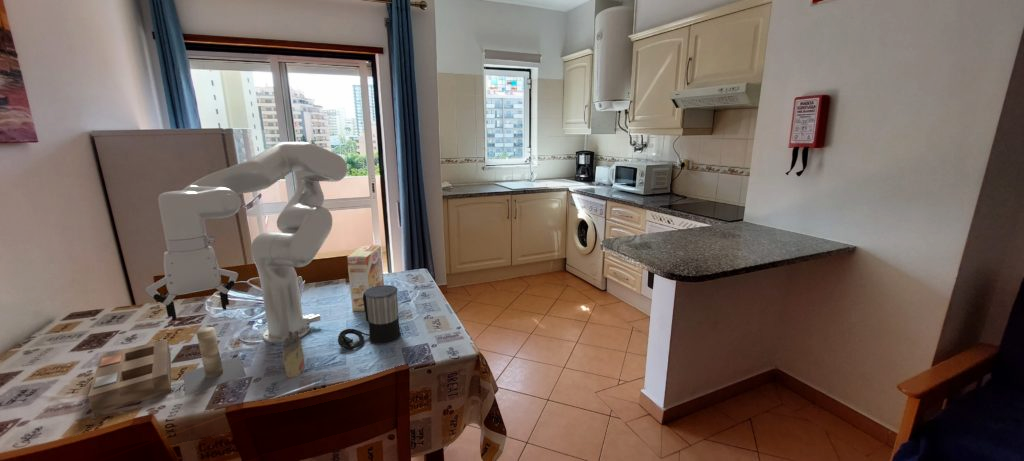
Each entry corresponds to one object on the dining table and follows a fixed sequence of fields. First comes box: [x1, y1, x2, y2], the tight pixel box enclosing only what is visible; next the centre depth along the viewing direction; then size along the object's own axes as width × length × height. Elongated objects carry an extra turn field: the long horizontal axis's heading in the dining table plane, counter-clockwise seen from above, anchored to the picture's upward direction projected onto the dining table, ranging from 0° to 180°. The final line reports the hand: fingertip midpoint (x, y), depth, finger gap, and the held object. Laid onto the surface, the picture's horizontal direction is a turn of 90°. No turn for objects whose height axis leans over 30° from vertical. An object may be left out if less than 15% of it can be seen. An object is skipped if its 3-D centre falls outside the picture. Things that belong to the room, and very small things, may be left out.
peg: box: [196, 326, 223, 378], centre depth 101 cm, size 4×4×12 cm
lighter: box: [282, 331, 305, 378], centre depth 103 cm, size 7×4×10 cm, turn 14°
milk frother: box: [337, 284, 402, 350], centre depth 118 cm, size 14×16×15 cm
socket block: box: [87, 338, 172, 418], centre depth 100 cm, size 13×22×5 cm, turn 39°
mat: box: [183, 356, 247, 396], centre depth 103 cm, size 12×12×1 cm
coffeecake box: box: [346, 244, 385, 312], centre depth 144 cm, size 15×7×20 cm, turn 179°
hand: (200, 313), depth 98 cm, fingers open, 9 cm apart
